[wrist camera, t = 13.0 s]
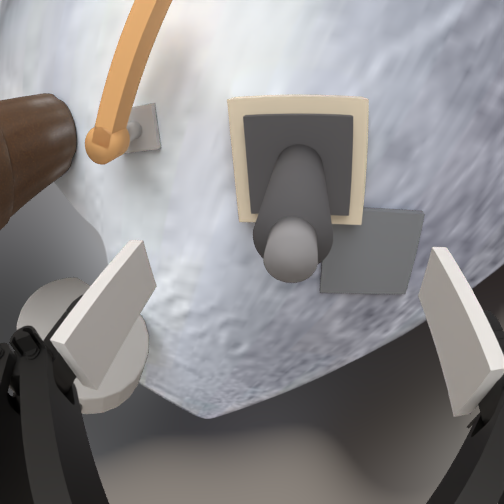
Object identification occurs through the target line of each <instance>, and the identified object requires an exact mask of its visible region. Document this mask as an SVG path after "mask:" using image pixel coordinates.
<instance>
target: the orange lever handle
mask: <svg viewBox="0 0 504 504" xmlns="http://www.w3.org/2000/svg"><path fill="white" fill-rule="evenodd" d="M171 2H172V0H135V1H134V4H133V6H132V8H131V11H130V13H129V16H128V18H127V21H126V23H125V26H124V28H123V31H122V34H121V36H120V39H119V42H118V45H117V48H116V51H115V54H114V57H113V60H112V63H111V66H110V69H109V73H108V76H107V80H106V83H105V87H104V90H103V94H102V98H101V102H100V106H99V110H98V114H97V119H96V123H95V127H94V128H92V129H91V130H90V131H89V132H88V134H87V136H86V139H85V149H86V152H87V154H88V156H89V158H90V159H91V160H92V161H93V162H95V163H97V164H106V163H108V162H110V161H112V160H114V159H115V158H117V157H119V156H121V155H122V154H124V153H125V152H126V151H127V149H128V147H129V144H130V135H129V132H128V130H127V128H126V127H127V123H128V120H129V116H130V113H131V109H132V106H133V102H134V99H135V96H136V93H137V89H138V86H139V83H140V80H141V77H142V74H143V71H144V69H145V66H146V63H147V60H148V57H149V55H150V52H151V49H152V47H153V44H154V42H155V39H156V37H157V34H158V32H159V29H160V27H161V25H162V22H163V20H164V18H165V15H166V13H167V11H168V9H169V6H170V4H171Z"/></svg>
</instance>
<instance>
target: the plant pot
mask: <svg viewBox="0 0 504 504" xmlns="http://www.w3.org/2000/svg"><path fill="white" fill-rule="evenodd" d="M75 152H76V129H75V124H74V121H73V118H72V115H71V113H70V111H69V109H68V107H67V105H66V104H65V103H64V102H63V101H61V100H59V99H57V98H56V97H55V96H54V95H53V94H46V93H44V94H38V95H31V96H25V97H18V98H13V99H7V100H1V101H0V230H1V229H2V228H3V227H4V226H5V225H6V224H7V223H8V221H9V219H10V217H11V216H12V215H13V214H15V213H16V212H17V211H18V210H19V209H20V208H21V207H22V206H24V205H25V204H26V203H27V202H28V201H29V200H30V199H32V198H33V197H34V196H36V195H37V194H38V193H39V192H41V191H42V190H43V189H44V188H46V187H47V186H48V185H50V184H51V183H52V182H54V181H55V180H57V179H58V178H59V177H61V176H62V175H63V174H64V173H65V172H66V171H67V170H68V169H69V168H70V166H71V161H72V158H73V156H74V154H75Z"/></svg>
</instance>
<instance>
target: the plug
mask: <svg viewBox="0 0 504 504" xmlns="http://www.w3.org/2000/svg"><path fill="white" fill-rule="evenodd" d="M243 123H244V135H245V147H246V159H247V171H248V183H249V196H250V208H251V214H258V217H257V220H256V223H255V226H254V230H253V240H254V244H255V247H256V249H257V251H258V253H259V254H260V255H261V257H262V258H263V261H264V266H265V268H266V270H267V271H268V273H269V274H270V275H271V276H273V277H274V278H276V279H277V280H280V281H282V282H287V283H297V282H301V281H304V280H306V279H308V278H309V277H310V276H311V275H312V274H313V273H314V272H315V270H316V268H317V265H318V264H319V263H321V262H322V261H323V260H324V259H325V258H326V257H327V255H328V254H329V252H330V250H331V248H332V244H333V229H332V221H331V215H338V216H349V209H350V195H351V179H352V157H353V116H352V115H342V114H305V113H291V114H254V115H245V116H243Z"/></svg>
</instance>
